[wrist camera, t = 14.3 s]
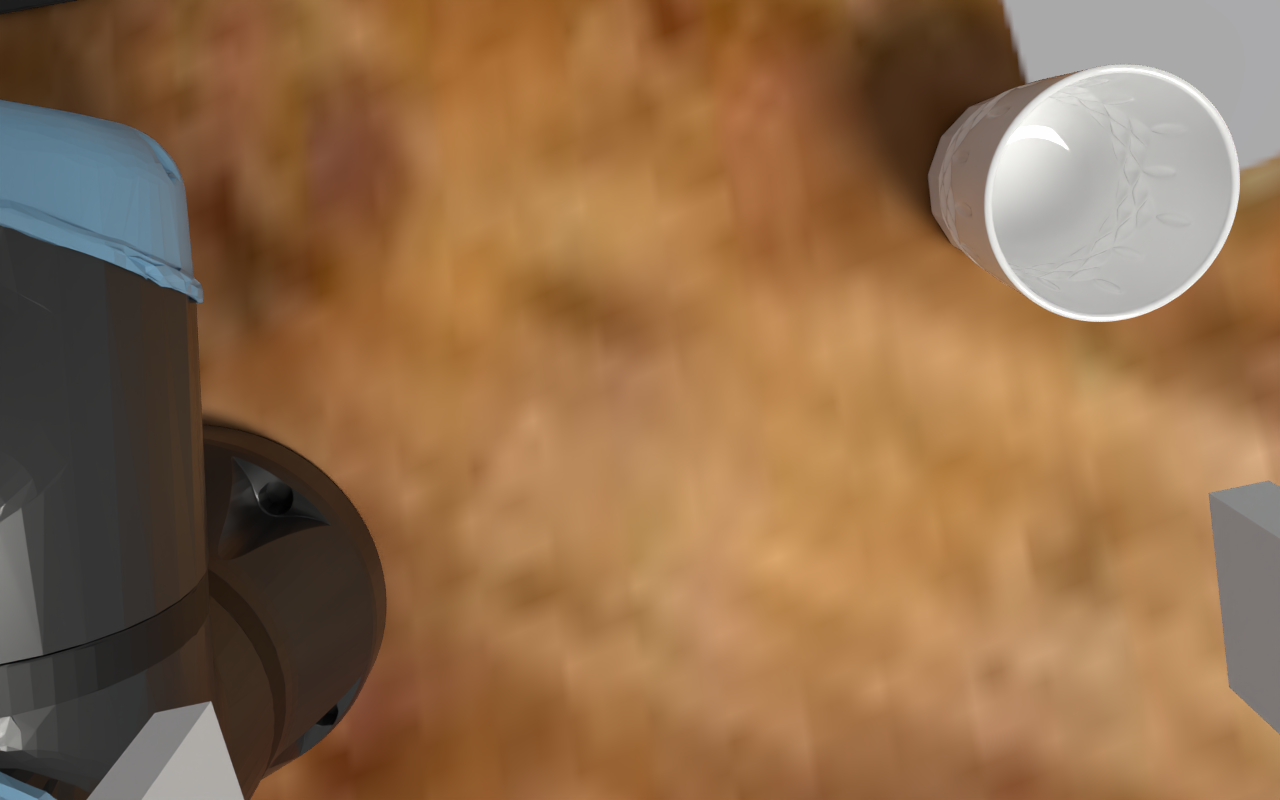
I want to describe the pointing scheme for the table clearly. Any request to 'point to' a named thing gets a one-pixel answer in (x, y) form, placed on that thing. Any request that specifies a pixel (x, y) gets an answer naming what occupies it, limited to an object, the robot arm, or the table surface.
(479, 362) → the table surface
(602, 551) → the table surface
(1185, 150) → the white cup
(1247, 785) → the table surface
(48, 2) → the phone
